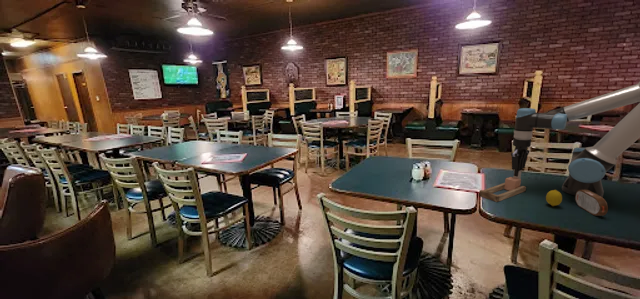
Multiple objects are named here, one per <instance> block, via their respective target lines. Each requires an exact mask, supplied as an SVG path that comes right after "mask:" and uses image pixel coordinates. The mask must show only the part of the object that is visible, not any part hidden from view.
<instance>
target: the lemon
mask: <svg viewBox="0 0 640 299" xmlns="http://www.w3.org/2000/svg"><path fill="white" fill-rule="evenodd" d="M545 200H546V202H547V203H548V204H549V205H551V207H556V206H560V204H561V203H562V202H563V195H562V193H561V192H560V191H559V190H557V189H552V190H550V191H548V192H547V193H546V196H545Z"/></svg>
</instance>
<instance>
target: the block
mask: <svg viewBox="0 0 640 299" xmlns="http://www.w3.org/2000/svg"><path fill="white" fill-rule="evenodd" d="M504 183H505V187H504V189H503V190H506V191H510V190H513V189H516V188H518V187H521V183H522V179H521V178H520V179H518V178H514V176H510V177H506V178H505V180H504Z"/></svg>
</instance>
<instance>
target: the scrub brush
mask: <svg viewBox="0 0 640 299" xmlns="http://www.w3.org/2000/svg"><path fill="white" fill-rule="evenodd" d="M574 199H575V200H574V201H575V203H576V204H577V206H578V207H579V208H581V209H582V210H584V211H586V212H587V213H589V214H591V215H593V216H596V217H597V216H600V217H604V216H606V214H608V210H609V207H608V202H607V201H606V199H605V198H603V197H601V196H599V195H597V194H595V193H593V192H591V191H589V190H578V191H577V192H576V195H574Z"/></svg>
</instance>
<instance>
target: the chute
mask: <svg viewBox="0 0 640 299" xmlns="http://www.w3.org/2000/svg"><path fill="white" fill-rule="evenodd" d="M504 187H505V182H502V183H500V184H497V185H495V186H491V187H489V188H488V187H487V188H485V189H480V190H479V192H478V196H479V197H481V198H484V199H487V200H490V201H493V202H495V203H498V202H501V201H505V200H506V199H509V198H511V197H515V196H516V195H519V194H522V193H524V192H526V190H527V187H526V186H524V185H520V187H518V188H516V189H513V190H510V191H509V190H507V191H505V192H503V193H500V194H495V193H497V192H500V191H502V190H505V189H504Z"/></svg>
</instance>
